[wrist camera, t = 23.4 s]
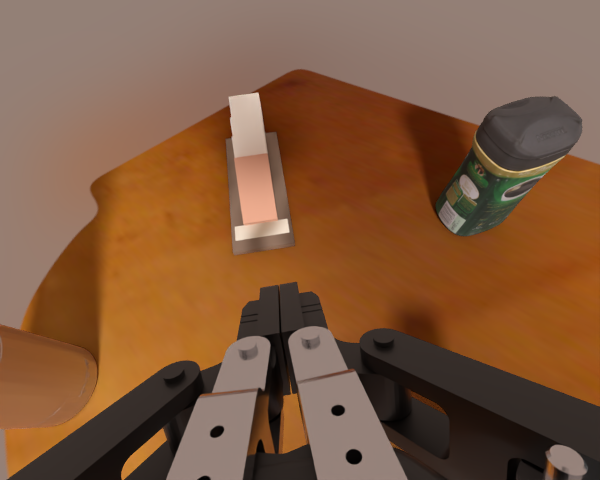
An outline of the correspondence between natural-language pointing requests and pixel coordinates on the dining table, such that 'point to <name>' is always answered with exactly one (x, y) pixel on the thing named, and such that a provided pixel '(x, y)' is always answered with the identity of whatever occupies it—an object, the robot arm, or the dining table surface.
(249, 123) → the domino
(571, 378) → the dining table surface
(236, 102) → the domino
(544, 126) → the coffee jar
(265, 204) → the domino
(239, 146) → the domino
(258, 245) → the domino board
